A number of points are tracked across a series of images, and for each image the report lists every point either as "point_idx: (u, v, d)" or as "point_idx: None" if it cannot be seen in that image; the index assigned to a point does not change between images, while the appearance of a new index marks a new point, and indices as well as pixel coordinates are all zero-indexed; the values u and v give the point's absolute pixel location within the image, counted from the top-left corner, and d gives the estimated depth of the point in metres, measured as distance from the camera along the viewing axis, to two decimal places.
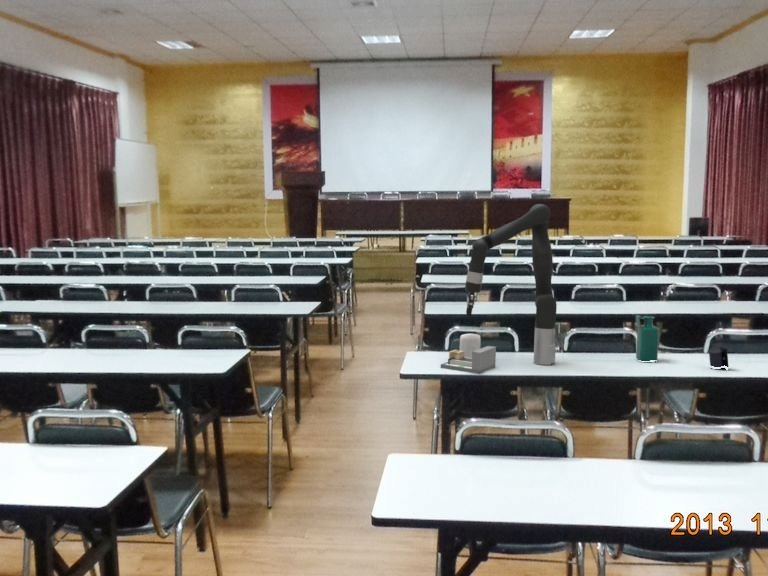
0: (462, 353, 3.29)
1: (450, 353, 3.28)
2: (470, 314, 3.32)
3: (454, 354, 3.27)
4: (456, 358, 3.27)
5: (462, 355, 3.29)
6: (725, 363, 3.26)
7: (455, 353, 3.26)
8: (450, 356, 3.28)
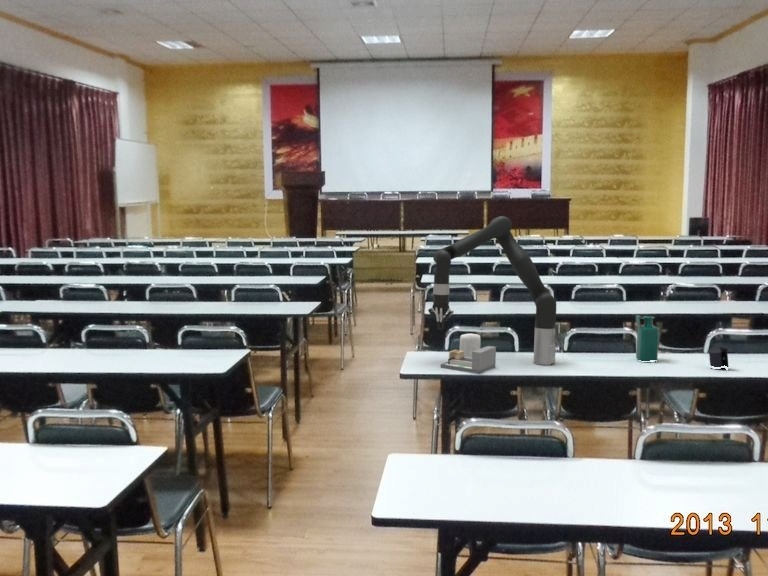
0: (462, 353, 3.29)
1: (450, 353, 3.28)
2: (443, 327, 3.33)
3: (454, 354, 3.27)
4: (456, 358, 3.27)
5: (462, 355, 3.29)
6: (725, 363, 3.26)
7: (455, 353, 3.26)
8: (450, 356, 3.28)
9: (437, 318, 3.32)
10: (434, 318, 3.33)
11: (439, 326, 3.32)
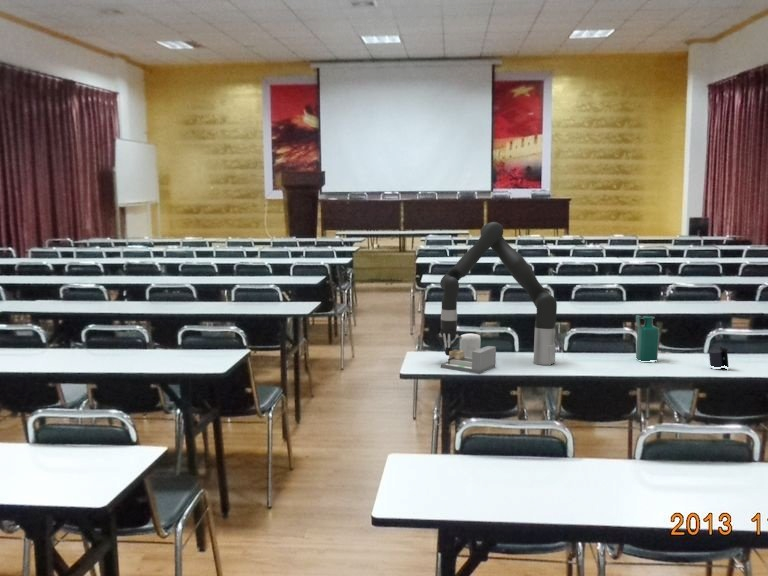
0: (462, 353, 3.29)
1: (450, 353, 3.28)
2: None
3: (454, 354, 3.27)
4: (456, 358, 3.27)
5: (462, 355, 3.29)
6: (725, 363, 3.26)
7: (455, 353, 3.26)
8: (450, 356, 3.28)
9: (445, 344, 3.31)
10: (442, 344, 3.32)
11: (447, 352, 3.31)
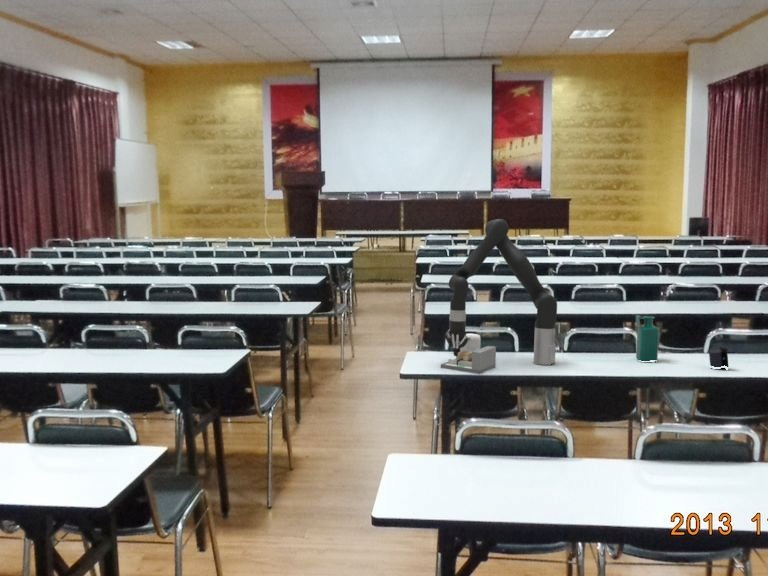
0: (471, 354, 3.26)
1: (458, 354, 3.25)
2: None
3: (463, 355, 3.24)
4: (464, 359, 3.24)
5: (471, 356, 3.26)
6: (725, 363, 3.26)
7: (464, 354, 3.24)
8: (458, 357, 3.26)
9: (453, 344, 3.29)
10: (450, 344, 3.29)
11: (455, 353, 3.28)
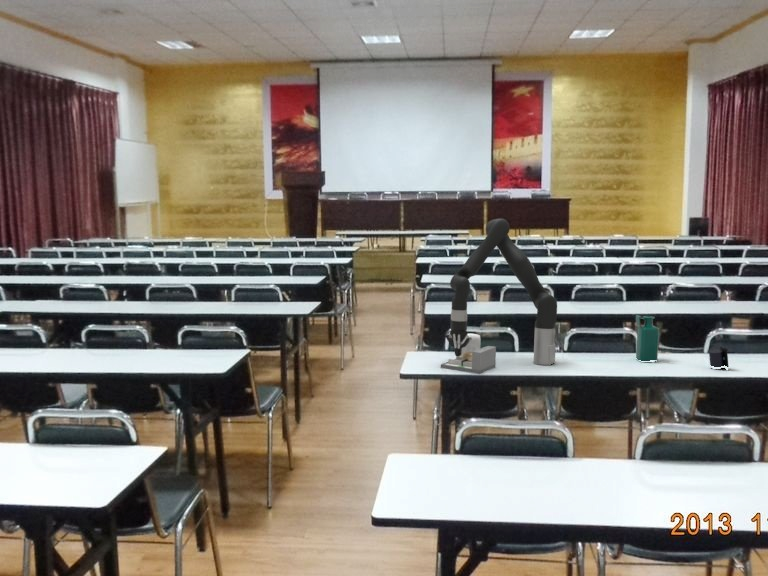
0: None
1: (463, 355, 3.24)
2: (461, 353, 3.28)
3: (467, 356, 3.23)
4: (469, 360, 3.23)
5: None
6: (725, 363, 3.26)
7: (468, 355, 3.23)
8: (463, 358, 3.24)
9: (455, 344, 3.28)
10: (452, 344, 3.28)
11: (457, 353, 3.28)
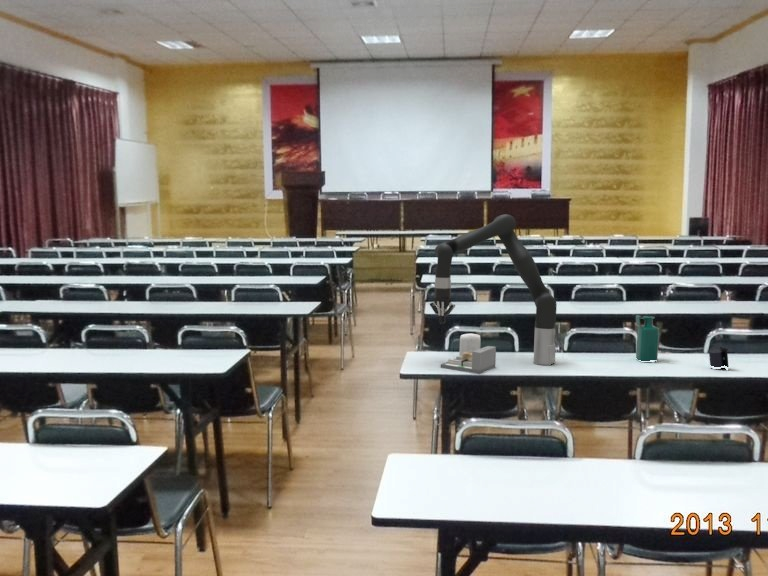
0: None
1: (463, 355, 3.24)
2: None
3: (467, 356, 3.23)
4: (469, 360, 3.23)
5: None
6: (725, 363, 3.26)
7: (468, 355, 3.23)
8: (463, 358, 3.24)
9: (439, 312, 3.31)
10: (436, 312, 3.32)
11: (441, 320, 3.31)
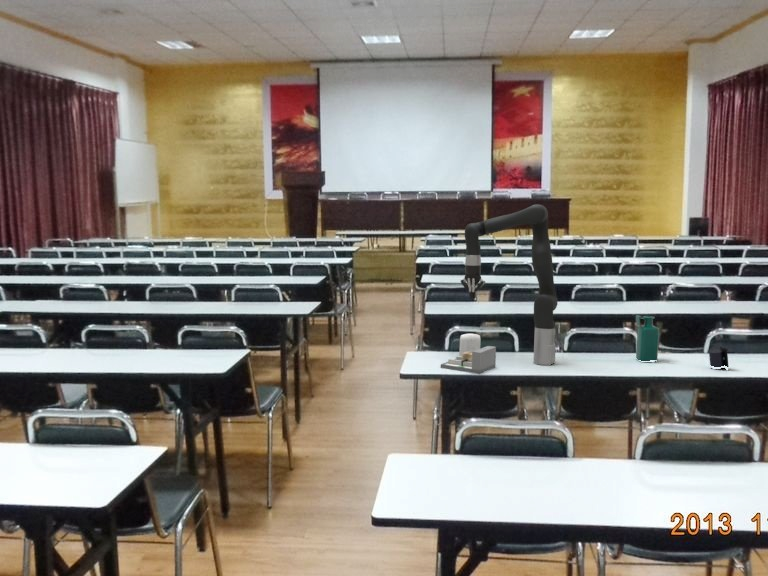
0: None
1: (463, 355, 3.24)
2: (475, 297, 3.47)
3: (467, 356, 3.23)
4: (469, 360, 3.23)
5: None
6: (725, 363, 3.26)
7: (468, 355, 3.23)
8: (463, 358, 3.24)
9: (469, 288, 3.46)
10: (466, 288, 3.47)
11: (471, 296, 3.46)
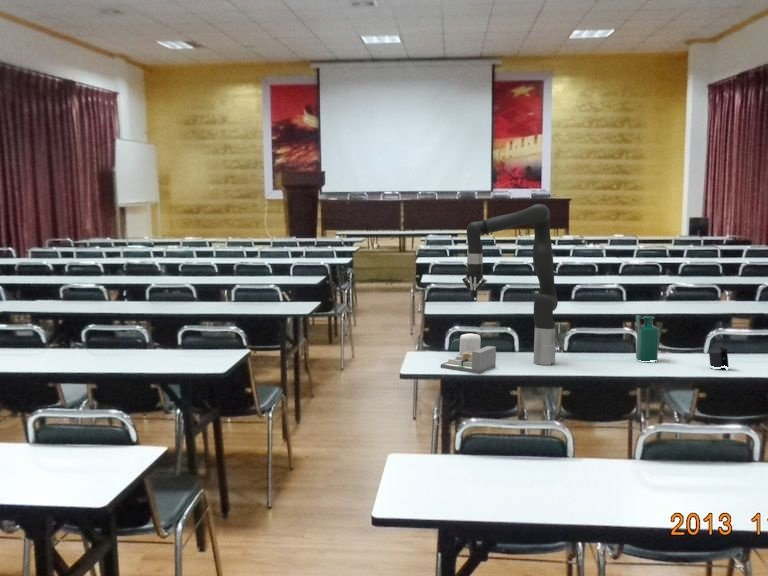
0: None
1: (463, 355, 3.24)
2: None
3: (467, 356, 3.23)
4: (469, 360, 3.23)
5: None
6: (725, 363, 3.26)
7: (468, 355, 3.23)
8: (463, 358, 3.24)
9: (471, 287, 3.47)
10: (468, 287, 3.48)
11: (473, 294, 3.47)
